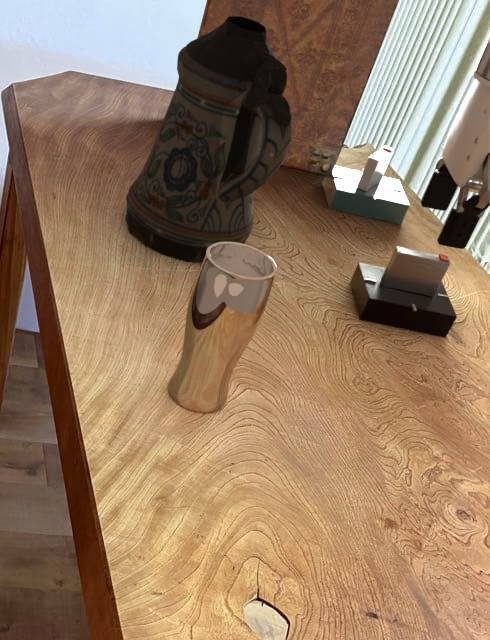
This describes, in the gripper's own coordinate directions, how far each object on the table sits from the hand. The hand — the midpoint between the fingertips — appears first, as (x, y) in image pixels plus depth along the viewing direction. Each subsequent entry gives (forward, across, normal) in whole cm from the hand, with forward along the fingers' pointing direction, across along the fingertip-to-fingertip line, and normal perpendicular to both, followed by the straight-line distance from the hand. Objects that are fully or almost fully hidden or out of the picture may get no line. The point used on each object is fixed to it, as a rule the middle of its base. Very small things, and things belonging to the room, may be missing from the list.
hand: (441, 226), depth 104 cm
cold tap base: (+11, +31, +1) cm, 33 cm away
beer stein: (+11, +8, +27) cm, 30 cm away
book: (+11, +44, +17) cm, 48 cm away
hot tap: (+8, 0, +1) cm, 8 cm away
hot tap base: (+11, 0, +1) cm, 11 cm away
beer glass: (+11, -27, +27) cm, 40 cm away
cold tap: (+8, +31, +1) cm, 32 cm away
